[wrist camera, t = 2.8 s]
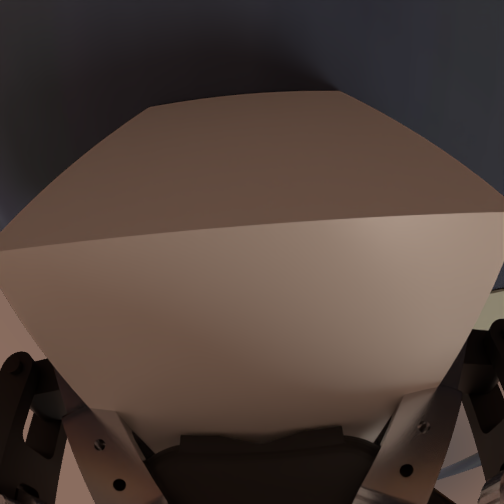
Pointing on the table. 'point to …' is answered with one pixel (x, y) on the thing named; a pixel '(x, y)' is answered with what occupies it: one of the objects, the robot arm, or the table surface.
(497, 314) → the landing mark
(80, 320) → the tan block
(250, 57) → the table surface
